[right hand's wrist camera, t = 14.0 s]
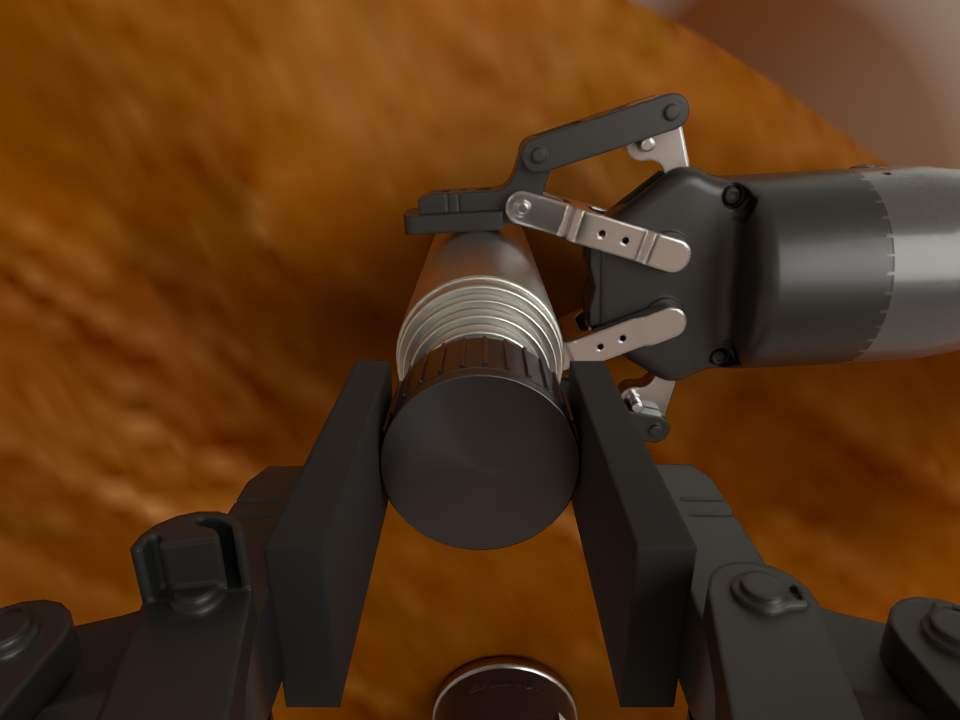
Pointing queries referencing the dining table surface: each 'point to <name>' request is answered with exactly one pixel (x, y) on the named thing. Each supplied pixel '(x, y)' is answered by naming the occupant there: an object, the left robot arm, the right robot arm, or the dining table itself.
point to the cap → (480, 445)
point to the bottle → (480, 298)
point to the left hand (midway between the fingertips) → (414, 290)
